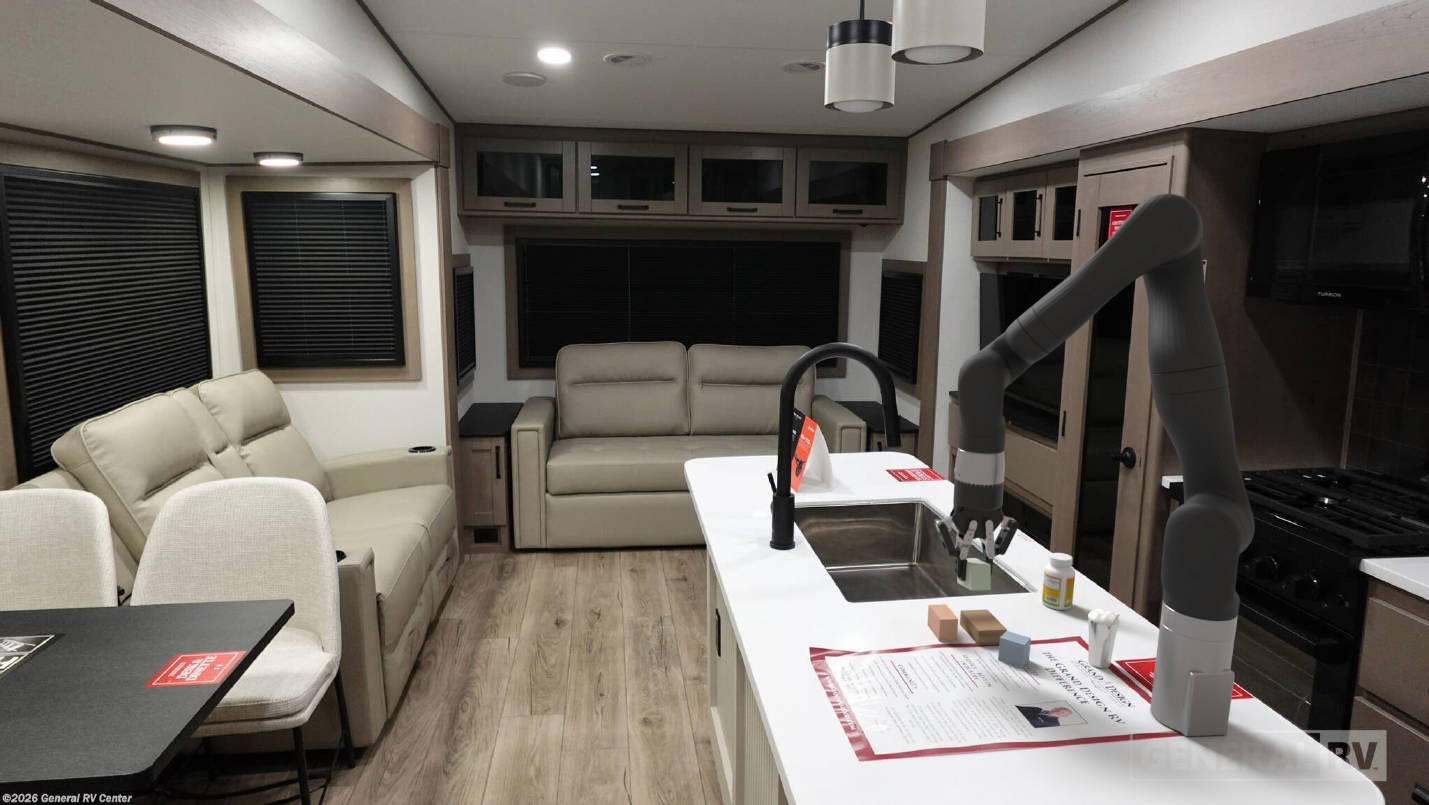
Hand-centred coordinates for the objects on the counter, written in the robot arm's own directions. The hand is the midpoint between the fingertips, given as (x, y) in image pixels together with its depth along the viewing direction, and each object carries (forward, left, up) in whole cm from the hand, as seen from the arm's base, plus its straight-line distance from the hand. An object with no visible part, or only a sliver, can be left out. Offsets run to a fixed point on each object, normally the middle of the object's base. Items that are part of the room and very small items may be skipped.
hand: (972, 578), depth 137 cm
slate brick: (-1, -7, -14) cm, 16 cm away
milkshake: (-4, -21, -14) cm, 25 cm away
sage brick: (-1, 0, -1) cm, 1 cm away
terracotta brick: (+9, +1, -14) cm, 17 cm away
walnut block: (+8, -6, -14) cm, 17 cm away
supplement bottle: (+19, -25, -14) cm, 34 cm away
